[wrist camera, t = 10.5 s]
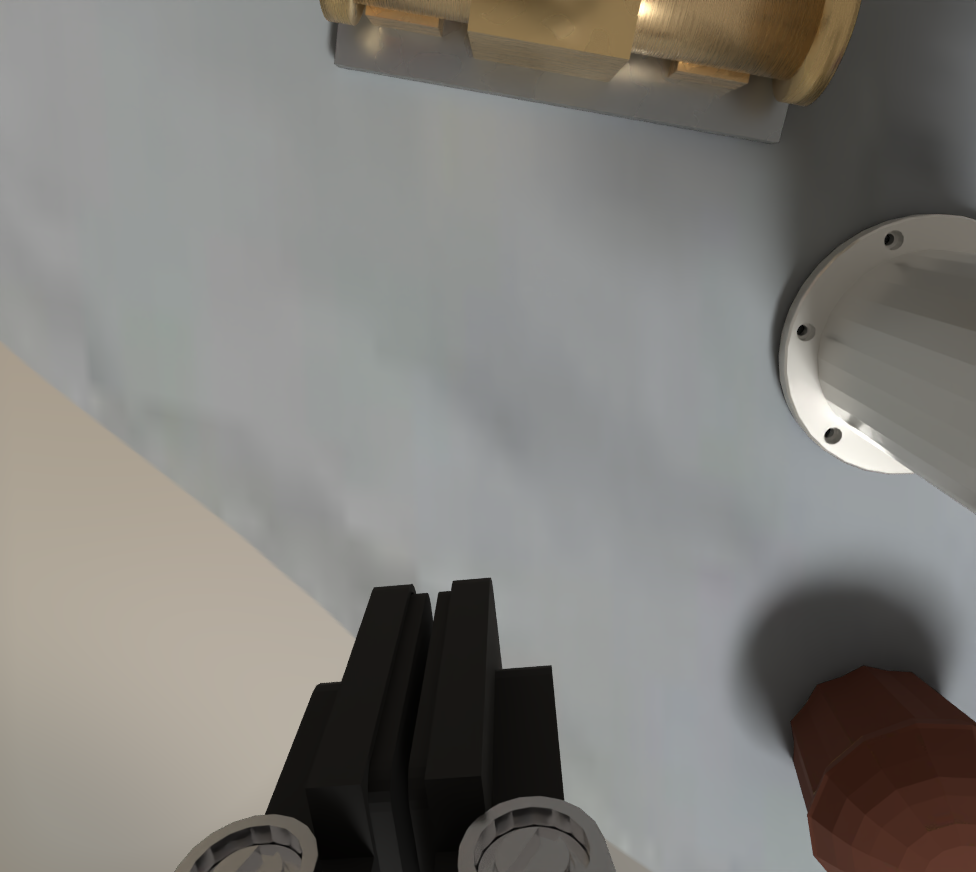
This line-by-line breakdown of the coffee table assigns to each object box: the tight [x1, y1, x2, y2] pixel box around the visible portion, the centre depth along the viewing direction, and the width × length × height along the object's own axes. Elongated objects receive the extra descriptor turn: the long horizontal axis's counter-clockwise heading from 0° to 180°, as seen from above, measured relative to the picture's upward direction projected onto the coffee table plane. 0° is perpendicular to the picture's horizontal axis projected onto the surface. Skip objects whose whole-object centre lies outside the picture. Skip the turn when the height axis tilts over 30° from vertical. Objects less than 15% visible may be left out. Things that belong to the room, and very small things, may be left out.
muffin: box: [790, 666, 976, 872], centre depth 40 cm, size 12×11×10 cm
